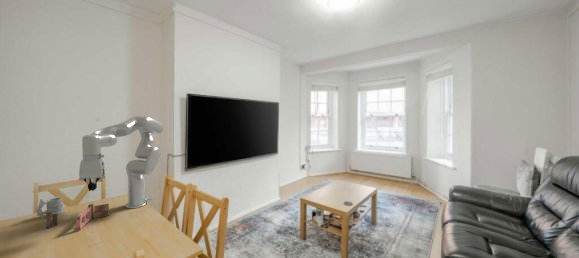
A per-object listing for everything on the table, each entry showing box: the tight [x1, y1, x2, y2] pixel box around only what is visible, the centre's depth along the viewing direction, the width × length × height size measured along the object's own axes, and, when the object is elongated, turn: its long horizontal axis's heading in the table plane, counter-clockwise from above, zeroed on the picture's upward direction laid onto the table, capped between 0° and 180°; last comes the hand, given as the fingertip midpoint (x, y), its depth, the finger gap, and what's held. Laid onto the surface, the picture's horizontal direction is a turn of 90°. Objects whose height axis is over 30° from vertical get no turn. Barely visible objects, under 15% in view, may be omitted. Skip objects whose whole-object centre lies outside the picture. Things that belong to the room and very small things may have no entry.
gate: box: [75, 206, 92, 231], centre depth 126 cm, size 14×2×7 cm, turn 23°
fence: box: [45, 203, 110, 230], centre depth 131 cm, size 26×4×8 cm, turn 133°
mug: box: [35, 197, 65, 218], centre depth 135 cm, size 8×12×12 cm, turn 162°
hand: (92, 189), depth 124 cm, fingers closed
